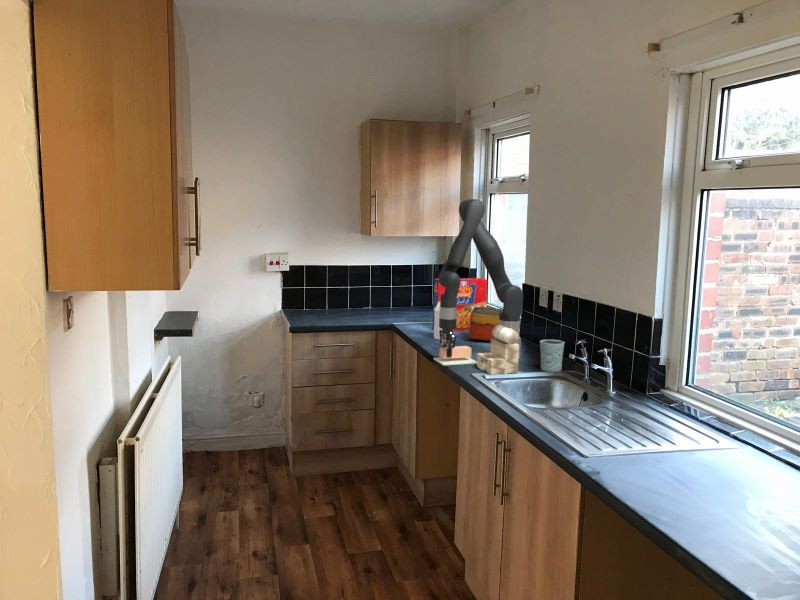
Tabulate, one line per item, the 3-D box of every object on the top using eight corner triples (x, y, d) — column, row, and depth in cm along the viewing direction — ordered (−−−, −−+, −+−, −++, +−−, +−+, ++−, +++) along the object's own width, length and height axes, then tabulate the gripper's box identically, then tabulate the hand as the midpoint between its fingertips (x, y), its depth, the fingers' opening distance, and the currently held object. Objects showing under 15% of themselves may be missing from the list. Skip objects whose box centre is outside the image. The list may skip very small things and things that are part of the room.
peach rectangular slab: (466, 354, 300) (466, 345, 300) (471, 357, 295) (471, 348, 295) (439, 356, 296) (439, 347, 295) (443, 358, 291) (444, 349, 291)
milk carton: (440, 336, 350) (441, 300, 347) (452, 338, 346) (453, 301, 344) (433, 339, 344) (434, 302, 341) (446, 340, 340) (447, 303, 337)
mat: (466, 357, 304) (466, 355, 304) (477, 363, 293) (477, 362, 292) (433, 359, 299) (433, 357, 299) (443, 365, 288) (443, 364, 288)
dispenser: (502, 365, 290) (504, 324, 287) (517, 373, 276) (519, 330, 274) (476, 367, 286) (478, 325, 283) (491, 375, 273) (492, 331, 270)
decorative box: (473, 336, 357) (471, 305, 355) (514, 335, 351) (513, 304, 348) (465, 345, 338) (462, 313, 336) (509, 345, 331) (507, 312, 329)
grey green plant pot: (545, 372, 278) (547, 344, 277) (534, 367, 288) (535, 339, 286) (567, 371, 281) (569, 343, 279) (555, 366, 291) (556, 338, 289)
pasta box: (437, 331, 364) (438, 280, 360) (432, 329, 371) (433, 278, 367) (485, 330, 371) (487, 279, 367) (480, 327, 379) (481, 278, 375)
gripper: (462, 319, 286) (461, 359, 289) (449, 314, 300) (448, 351, 302) (445, 320, 284) (444, 359, 286) (434, 314, 297) (433, 352, 300)
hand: (446, 355), depth 294 cm, fingers closed on peach rectangular slab, 4 cm apart
